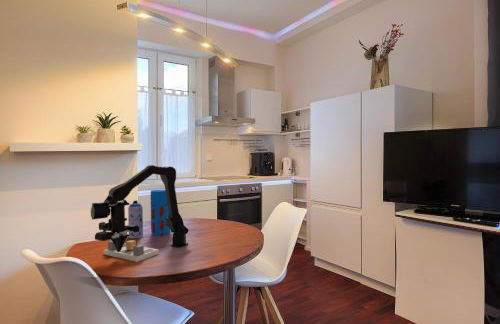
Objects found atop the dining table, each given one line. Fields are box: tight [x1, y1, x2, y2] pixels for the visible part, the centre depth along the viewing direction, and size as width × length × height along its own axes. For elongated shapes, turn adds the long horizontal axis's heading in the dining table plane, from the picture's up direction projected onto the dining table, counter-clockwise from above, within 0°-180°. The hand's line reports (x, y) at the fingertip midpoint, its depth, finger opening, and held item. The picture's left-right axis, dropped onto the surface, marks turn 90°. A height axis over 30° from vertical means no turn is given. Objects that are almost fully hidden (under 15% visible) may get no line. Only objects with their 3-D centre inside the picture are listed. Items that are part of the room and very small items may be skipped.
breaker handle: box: [125, 239, 137, 250], centre depth 141 cm, size 3×3×4 cm
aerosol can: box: [127, 200, 144, 239], centre depth 173 cm, size 8×8×20 cm
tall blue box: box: [150, 189, 171, 237], centre depth 179 cm, size 11×11×25 cm
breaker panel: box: [103, 240, 159, 263], centre depth 142 cm, size 12×22×6 cm, turn 60°
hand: (118, 251), depth 136 cm, fingers closed
